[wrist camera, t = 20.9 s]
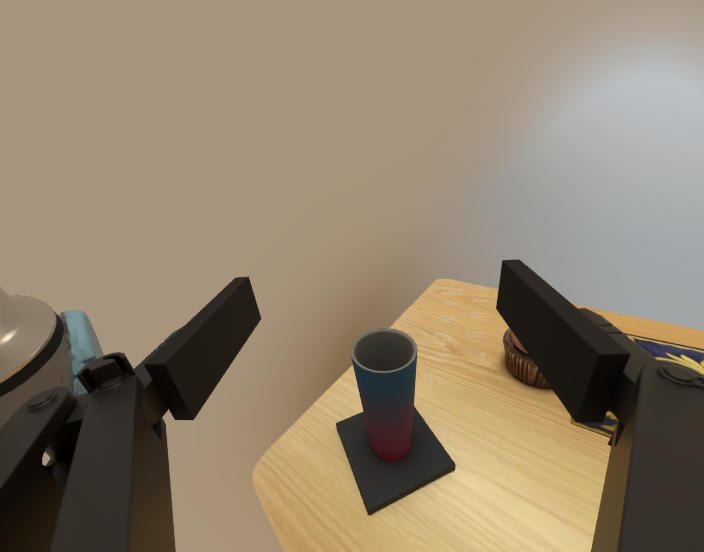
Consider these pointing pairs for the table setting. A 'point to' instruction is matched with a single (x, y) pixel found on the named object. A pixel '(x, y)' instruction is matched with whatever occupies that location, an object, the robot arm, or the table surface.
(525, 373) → the cupcake
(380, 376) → the cup
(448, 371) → the table surface
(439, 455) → the mat
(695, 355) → the decorative box
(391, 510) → the table surface
